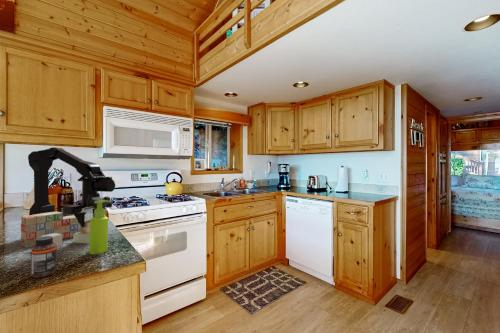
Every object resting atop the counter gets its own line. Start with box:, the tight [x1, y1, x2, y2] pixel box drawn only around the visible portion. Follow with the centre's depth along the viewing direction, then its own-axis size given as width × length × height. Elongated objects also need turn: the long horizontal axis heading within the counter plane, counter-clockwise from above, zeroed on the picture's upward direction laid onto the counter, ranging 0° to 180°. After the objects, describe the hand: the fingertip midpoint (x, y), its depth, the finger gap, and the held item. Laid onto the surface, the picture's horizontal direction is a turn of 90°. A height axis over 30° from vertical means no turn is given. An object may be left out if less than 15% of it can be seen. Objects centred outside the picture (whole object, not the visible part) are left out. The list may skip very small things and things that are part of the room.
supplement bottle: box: [30, 236, 58, 279], centre depth 71 cm, size 6×6×11 cm
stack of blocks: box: [20, 210, 86, 248], centre depth 104 cm, size 21×6×12 cm, turn 150°
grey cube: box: [40, 233, 63, 248], centre depth 94 cm, size 5×5×5 cm
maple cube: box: [80, 219, 90, 234], centre depth 104 cm, size 5×5×5 cm
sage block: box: [72, 232, 90, 244], centre depth 104 cm, size 8×8×4 cm
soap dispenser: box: [89, 200, 111, 255], centre depth 91 cm, size 6×7×20 cm
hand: (89, 225), depth 104 cm, fingers open, 6 cm apart
